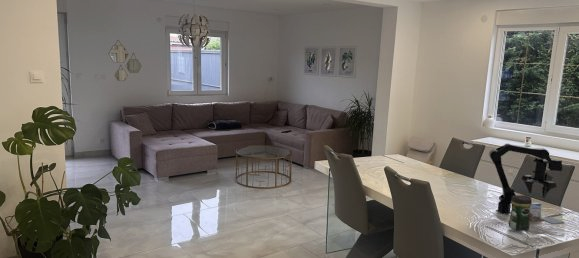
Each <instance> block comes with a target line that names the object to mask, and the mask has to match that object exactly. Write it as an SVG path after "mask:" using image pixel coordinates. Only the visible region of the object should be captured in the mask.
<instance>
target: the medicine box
mask: <svg viewBox="0 0 579 258" xmlns="http://www.w3.org/2000/svg"><path fill="white" fill-rule="evenodd" d="M529 213H532V214H533V215H532V219H533V218H542V203H539V202H532V204H531V207H530V212H529Z"/></svg>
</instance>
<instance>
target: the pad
mask: <svg viewBox="0 0 579 258" xmlns="http://www.w3.org/2000/svg"><path fill="white" fill-rule="evenodd" d="M542 218H543V222H547V223H549V224H551V225H555V224H557V225H558V224H565V221H562V220H559V219H557V218H555V217H542Z"/></svg>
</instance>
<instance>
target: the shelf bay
mask: <svg viewBox="0 0 579 258" xmlns="http://www.w3.org/2000/svg"><path fill="white" fill-rule="evenodd" d="M532 215H533V214H532V213H529V223H530V222H539V221H541V222H542V221H543V218H544V217H541V218H533V219H532ZM543 222H544V221H543Z"/></svg>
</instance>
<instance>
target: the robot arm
mask: <svg viewBox="0 0 579 258" xmlns="http://www.w3.org/2000/svg"><path fill="white" fill-rule="evenodd" d="M508 152H514V153H519V154H525V155H530V156H533V159H531V161H532V162H534V163H535V164H534V165H535V166H534V170H532V173H533V175H531V174H523V175H522V176H521V181H523V182H524V184H525V186H526V188H527V191H528V193H529V194H531V193H532V190H533V185H534V183H539V184H541V185H543V186H542V189H541V190H542V192H541V193H542V198H543V199H546V197H547V194H548V193H549V191H550V190H551V189H555V188H557V182H554V181H552V180H553V178H554V177H553V176H551V175H550V174H549V175H548V171H547V170H549V171H550V172H557V173H561V172H562V170H563V161H562V160H561V159H552V158H551V156H550V152H549V150H548V149H546V148H544V147H527V146H522V145H516V144H510V143H505V144H503V145H501V146H499V147H496V148H495V149H491V150H489V152H488V156H489V158H490V159H491V161H492V162H493V164H494V168H495V169H496V172H497V176H498V177H499V178H498V179H499V181H500V183H501V188H502V189H501V190H502V194H500V196H498V199H499V201H498V204H497V209H495V212H498V213H500V214H502V215H507V214H510V215H511V209H512V204H511V199H512V196H513V195H514V196H517V195H516V193H515V189H514V187H513V186H510V184H509V182H508V179H507V176H506V174H505V171H504V170H505V169H504V167H503V164H502V157H503V156H504V155H505V154H507V153H508Z"/></svg>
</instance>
